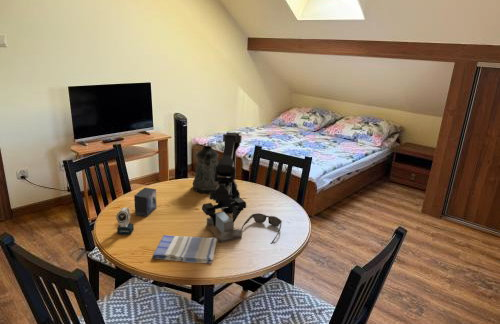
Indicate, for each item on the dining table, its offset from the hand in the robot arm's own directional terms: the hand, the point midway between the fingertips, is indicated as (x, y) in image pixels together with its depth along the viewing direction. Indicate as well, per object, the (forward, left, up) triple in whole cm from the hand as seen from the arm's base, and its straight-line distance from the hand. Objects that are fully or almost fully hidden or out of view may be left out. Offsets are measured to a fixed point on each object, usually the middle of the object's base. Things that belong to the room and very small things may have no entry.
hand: (223, 223), depth 152 cm
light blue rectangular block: (0, 0, -3) cm, 3 cm away
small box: (+27, -32, -4) cm, 42 cm away
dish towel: (+19, +7, -5) cm, 21 cm away
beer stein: (-11, -47, -4) cm, 48 cm away
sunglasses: (-16, +7, -5) cm, 18 cm away
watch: (+39, -16, -4) cm, 42 cm away
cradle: (0, 0, -4) cm, 4 cm away
